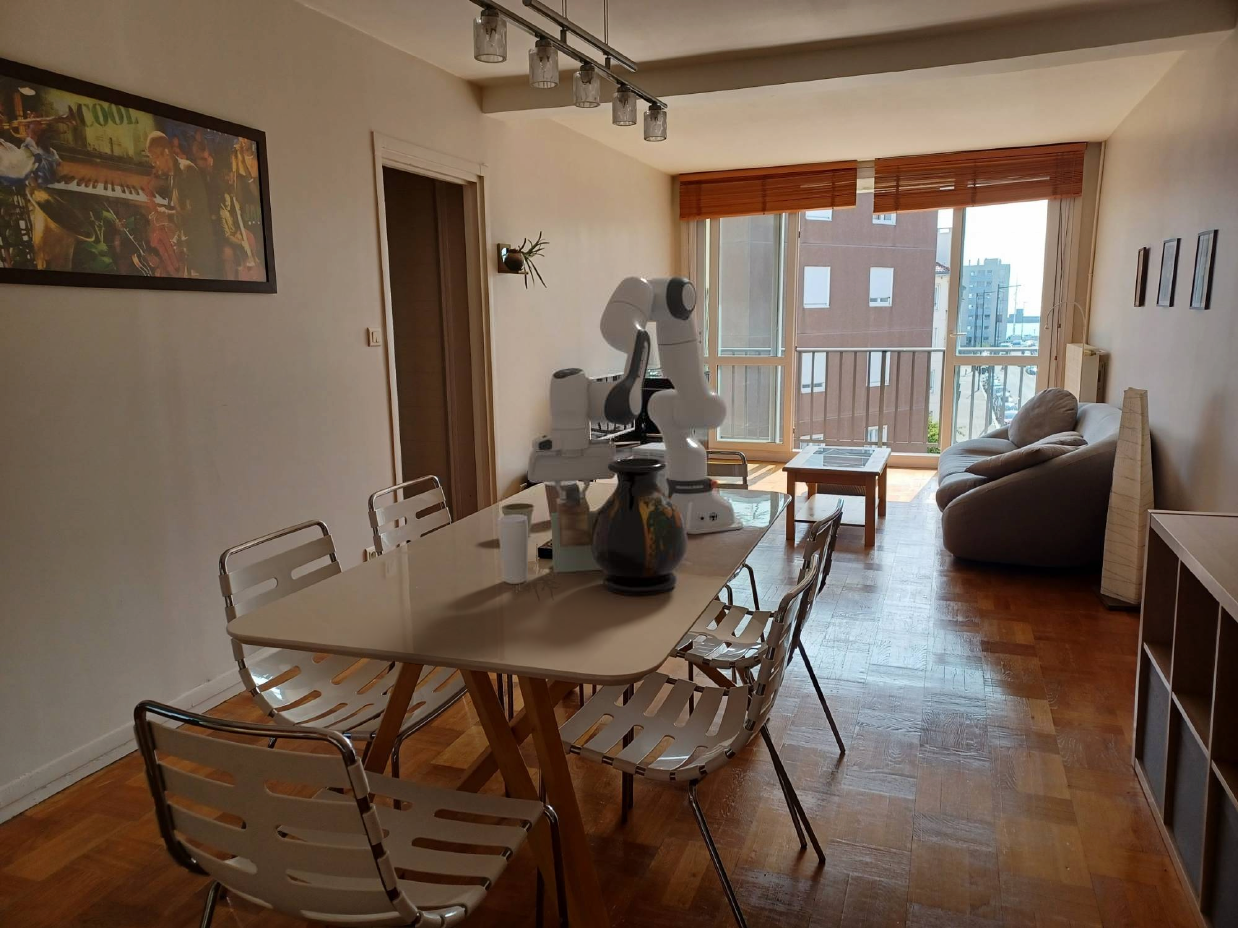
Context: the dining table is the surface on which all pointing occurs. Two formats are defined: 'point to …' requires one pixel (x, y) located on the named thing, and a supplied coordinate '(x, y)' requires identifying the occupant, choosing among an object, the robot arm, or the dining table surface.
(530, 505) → the flower pot
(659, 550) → the amphora vase
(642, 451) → the supplement box
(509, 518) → the drinking glass
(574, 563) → the board
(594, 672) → the dining table surface
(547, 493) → the coffee cup
